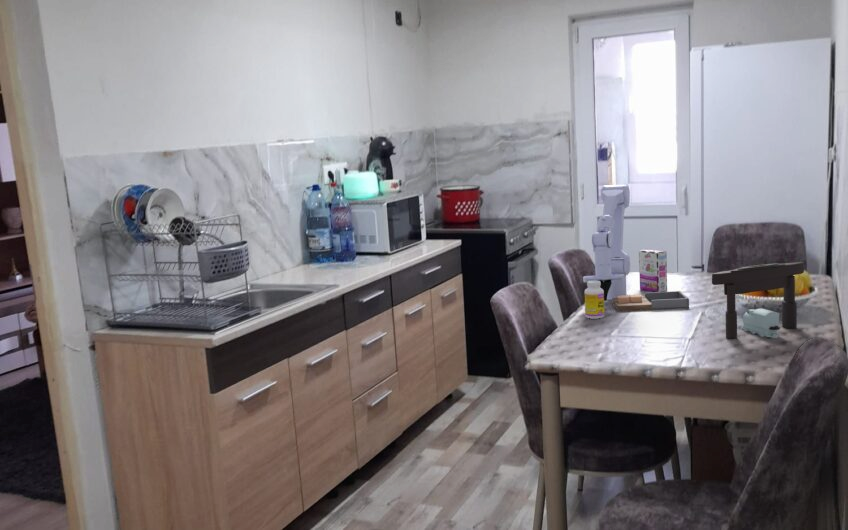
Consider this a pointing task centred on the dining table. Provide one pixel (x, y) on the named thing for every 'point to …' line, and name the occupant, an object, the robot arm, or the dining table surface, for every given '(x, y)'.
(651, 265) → the candy bar box
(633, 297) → the tile
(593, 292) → the supplement bottle
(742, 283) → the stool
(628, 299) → the tile
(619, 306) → the board
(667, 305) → the tray
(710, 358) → the dining table surface
